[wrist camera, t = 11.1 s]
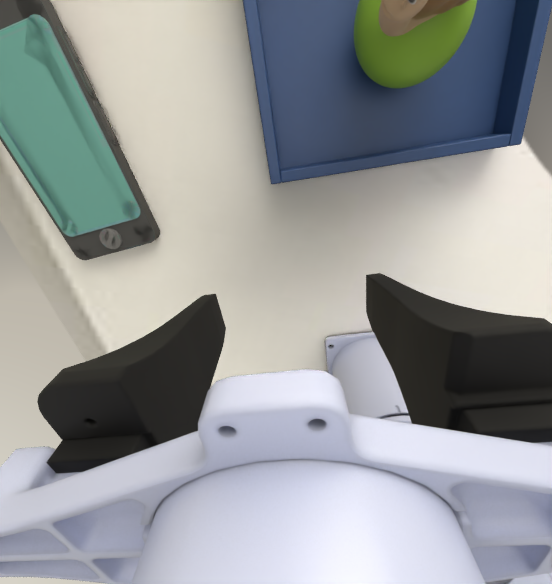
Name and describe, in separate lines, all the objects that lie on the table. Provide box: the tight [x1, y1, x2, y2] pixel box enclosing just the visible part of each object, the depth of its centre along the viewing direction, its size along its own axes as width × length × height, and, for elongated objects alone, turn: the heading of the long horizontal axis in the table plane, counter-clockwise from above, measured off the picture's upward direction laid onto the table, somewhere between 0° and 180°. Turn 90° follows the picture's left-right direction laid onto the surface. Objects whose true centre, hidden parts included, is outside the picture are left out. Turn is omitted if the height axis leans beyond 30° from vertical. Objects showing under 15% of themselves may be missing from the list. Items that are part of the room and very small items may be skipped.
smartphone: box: [0, 0, 160, 260], centre depth 20 cm, size 7×1×15 cm
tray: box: [243, 0, 552, 184], centre depth 16 cm, size 15×13×2 cm
